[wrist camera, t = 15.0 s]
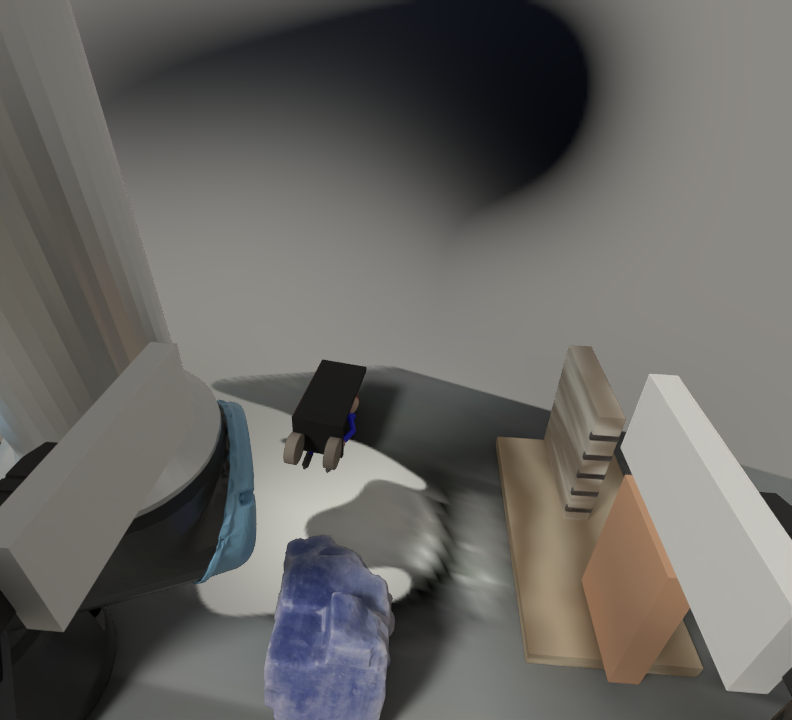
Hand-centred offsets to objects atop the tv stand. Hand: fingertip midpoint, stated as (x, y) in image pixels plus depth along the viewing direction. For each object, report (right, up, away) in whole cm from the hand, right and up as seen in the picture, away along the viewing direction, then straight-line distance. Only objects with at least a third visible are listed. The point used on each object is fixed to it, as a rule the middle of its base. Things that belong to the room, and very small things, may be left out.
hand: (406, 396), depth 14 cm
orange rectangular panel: (+18, -22, +28) cm, 40 cm away
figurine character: (-9, -9, +49) cm, 50 cm away
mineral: (-6, -23, +28) cm, 37 cm away
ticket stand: (+18, -18, +38) cm, 45 cm away
